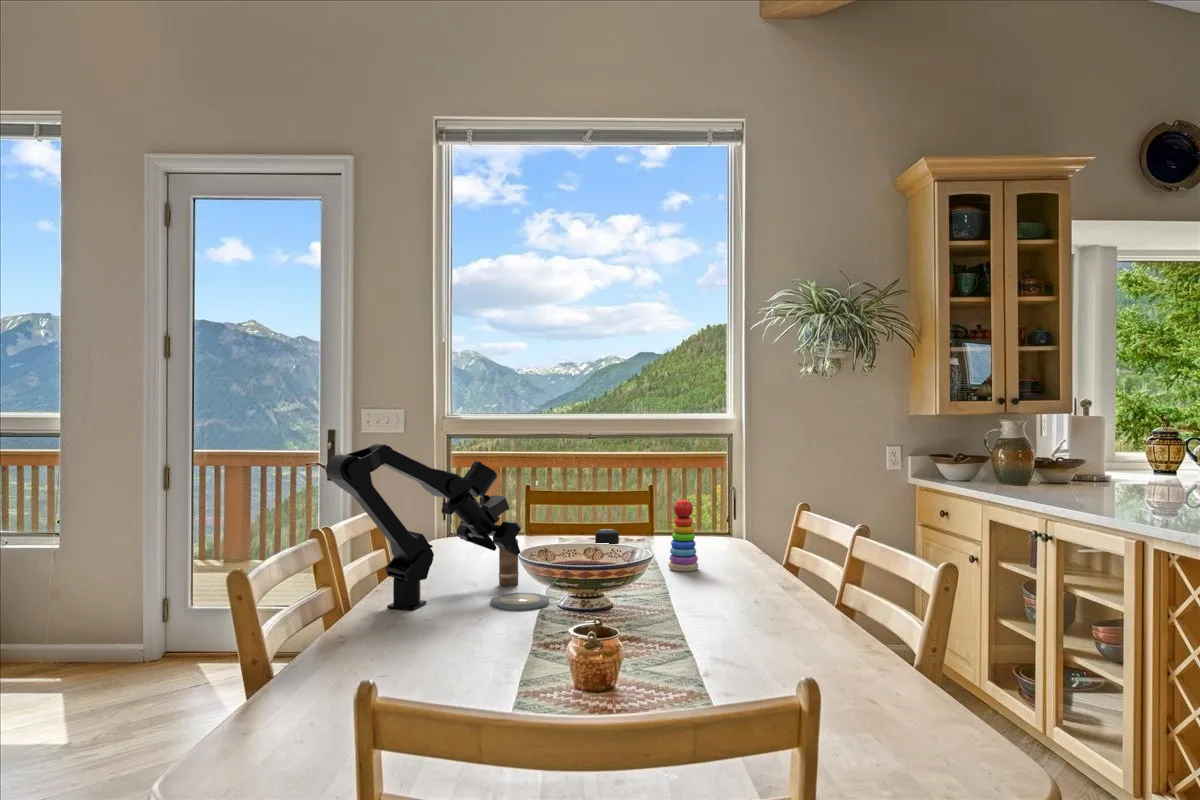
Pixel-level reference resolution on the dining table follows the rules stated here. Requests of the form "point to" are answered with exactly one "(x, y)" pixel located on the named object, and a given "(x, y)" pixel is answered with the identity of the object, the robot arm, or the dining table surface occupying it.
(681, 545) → the stacking toy
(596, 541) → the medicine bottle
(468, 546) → the dining table surface
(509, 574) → the brown cylinder
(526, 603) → the hub plate
